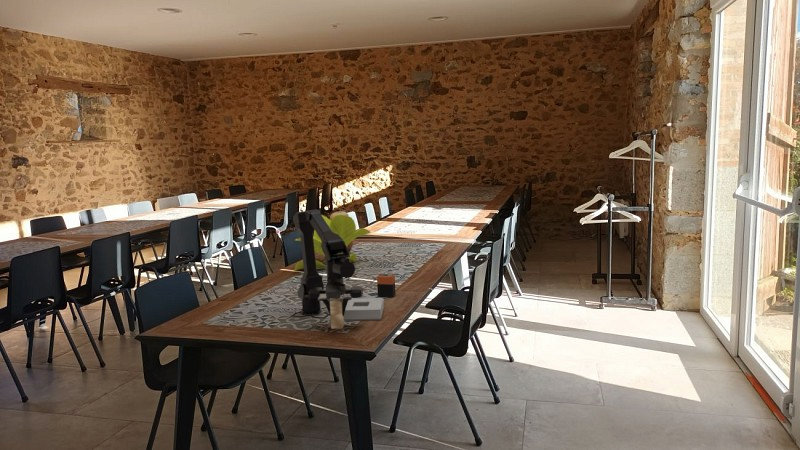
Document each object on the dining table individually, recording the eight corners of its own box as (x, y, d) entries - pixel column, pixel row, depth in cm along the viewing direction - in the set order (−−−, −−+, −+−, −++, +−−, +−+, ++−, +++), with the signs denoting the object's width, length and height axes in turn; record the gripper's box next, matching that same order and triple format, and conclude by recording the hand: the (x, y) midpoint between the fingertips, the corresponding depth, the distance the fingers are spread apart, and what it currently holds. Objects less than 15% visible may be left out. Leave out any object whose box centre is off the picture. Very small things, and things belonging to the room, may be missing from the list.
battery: (380, 294, 265) (379, 271, 264) (395, 295, 263) (395, 272, 262) (377, 297, 261) (376, 273, 260) (392, 297, 259) (391, 274, 257)
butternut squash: (325, 256, 352) (323, 213, 348) (334, 252, 365) (332, 210, 361) (348, 257, 348) (346, 213, 344) (356, 252, 361) (355, 210, 357)
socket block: (337, 320, 229) (337, 310, 229) (343, 308, 245) (342, 299, 244) (380, 320, 228) (380, 309, 228) (383, 307, 244) (383, 298, 244)
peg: (331, 328, 220) (329, 301, 219) (333, 325, 224) (331, 298, 223) (342, 328, 220) (341, 301, 219) (344, 325, 224) (342, 298, 223)
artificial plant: (380, 274, 331) (370, 225, 344) (368, 243, 292) (357, 188, 305) (304, 292, 331) (296, 242, 344) (281, 263, 292) (274, 207, 305)
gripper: (304, 279, 212) (307, 323, 214) (358, 277, 211) (360, 322, 213) (310, 272, 223) (312, 314, 225) (362, 270, 222) (364, 312, 224)
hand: (337, 315), depth 222 cm, fingers open, 4 cm apart
